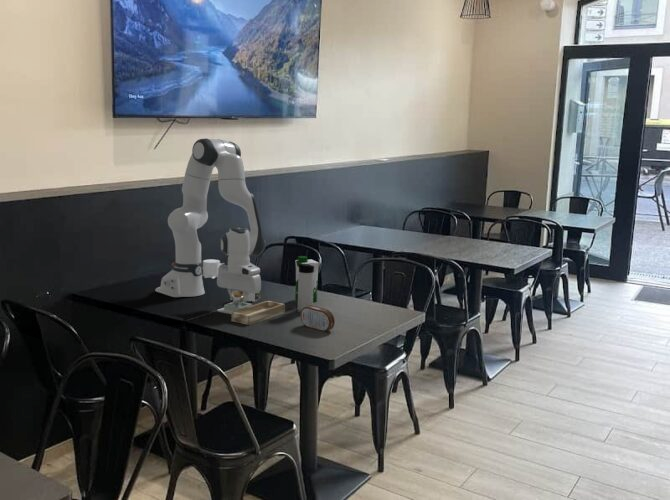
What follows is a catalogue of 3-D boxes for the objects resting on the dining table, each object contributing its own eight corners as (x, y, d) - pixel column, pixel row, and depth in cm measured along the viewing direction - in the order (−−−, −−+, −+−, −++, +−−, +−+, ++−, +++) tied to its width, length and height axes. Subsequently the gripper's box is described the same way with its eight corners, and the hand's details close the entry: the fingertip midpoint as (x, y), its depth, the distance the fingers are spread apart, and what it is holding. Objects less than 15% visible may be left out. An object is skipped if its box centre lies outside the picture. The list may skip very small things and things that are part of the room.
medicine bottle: (255, 302, 297) (255, 274, 295) (239, 300, 298) (239, 273, 296) (260, 298, 304) (260, 271, 302) (244, 296, 305) (245, 270, 303)
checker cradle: (217, 311, 280) (217, 304, 280) (235, 305, 291) (235, 299, 290) (240, 316, 274) (240, 309, 274) (259, 310, 285) (259, 303, 284)
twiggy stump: (239, 278, 343) (239, 262, 342) (205, 283, 330) (205, 266, 329) (216, 271, 358) (216, 255, 356) (183, 275, 344) (183, 259, 343)
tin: (334, 332, 258) (335, 310, 257) (329, 334, 256) (330, 312, 254) (304, 324, 267) (304, 302, 266) (298, 325, 265) (299, 304, 263)
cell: (231, 309, 282) (231, 290, 280) (237, 307, 285) (237, 288, 284) (238, 311, 280) (239, 291, 278) (245, 308, 283) (245, 289, 282)
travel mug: (293, 310, 285) (295, 263, 282) (306, 308, 290) (307, 261, 286) (303, 314, 281) (304, 265, 277) (315, 312, 285) (317, 264, 281)
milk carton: (292, 300, 302) (293, 255, 298) (311, 298, 306) (312, 254, 303) (300, 305, 294) (302, 259, 291) (319, 303, 298) (321, 257, 295)
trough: (231, 321, 267) (231, 312, 267) (267, 308, 287) (267, 300, 286) (250, 325, 263) (250, 316, 262) (285, 312, 282) (285, 304, 282)
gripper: (213, 265, 282) (213, 298, 284) (253, 272, 272) (253, 306, 274) (223, 262, 287) (223, 295, 290) (263, 269, 277) (262, 303, 280)
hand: (238, 300), depth 282 cm, fingers open, 4 cm apart
